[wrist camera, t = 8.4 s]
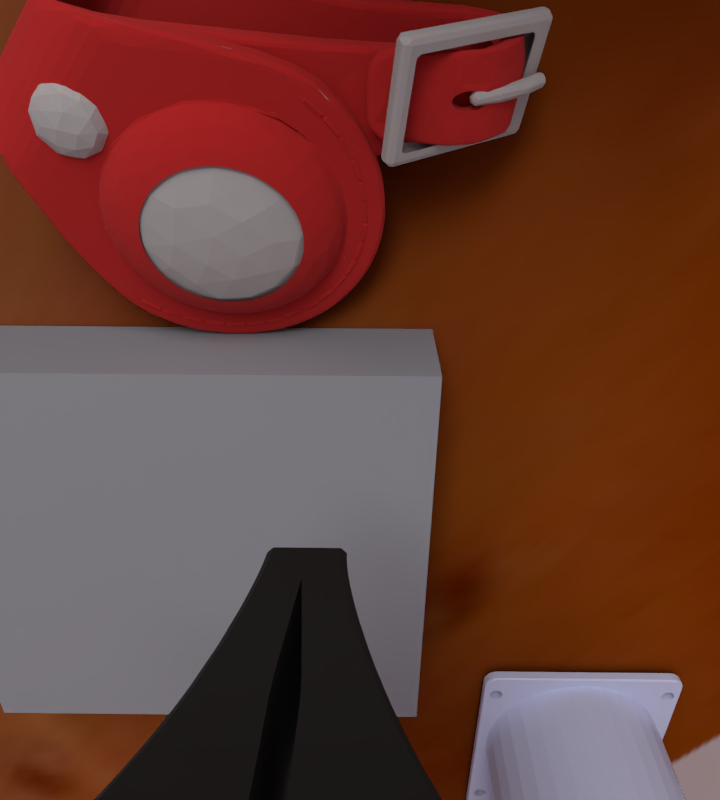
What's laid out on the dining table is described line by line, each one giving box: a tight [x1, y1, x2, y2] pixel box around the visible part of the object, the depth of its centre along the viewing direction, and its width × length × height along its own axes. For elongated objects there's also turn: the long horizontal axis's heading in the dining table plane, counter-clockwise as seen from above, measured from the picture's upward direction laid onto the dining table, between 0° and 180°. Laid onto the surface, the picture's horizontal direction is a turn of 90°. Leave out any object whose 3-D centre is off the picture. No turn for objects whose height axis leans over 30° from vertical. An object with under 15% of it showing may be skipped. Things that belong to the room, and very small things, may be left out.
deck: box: [0, 326, 442, 717], centre depth 22 cm, size 14×15×3 cm
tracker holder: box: [0, 0, 553, 333], centre depth 16 cm, size 12×4×10 cm
